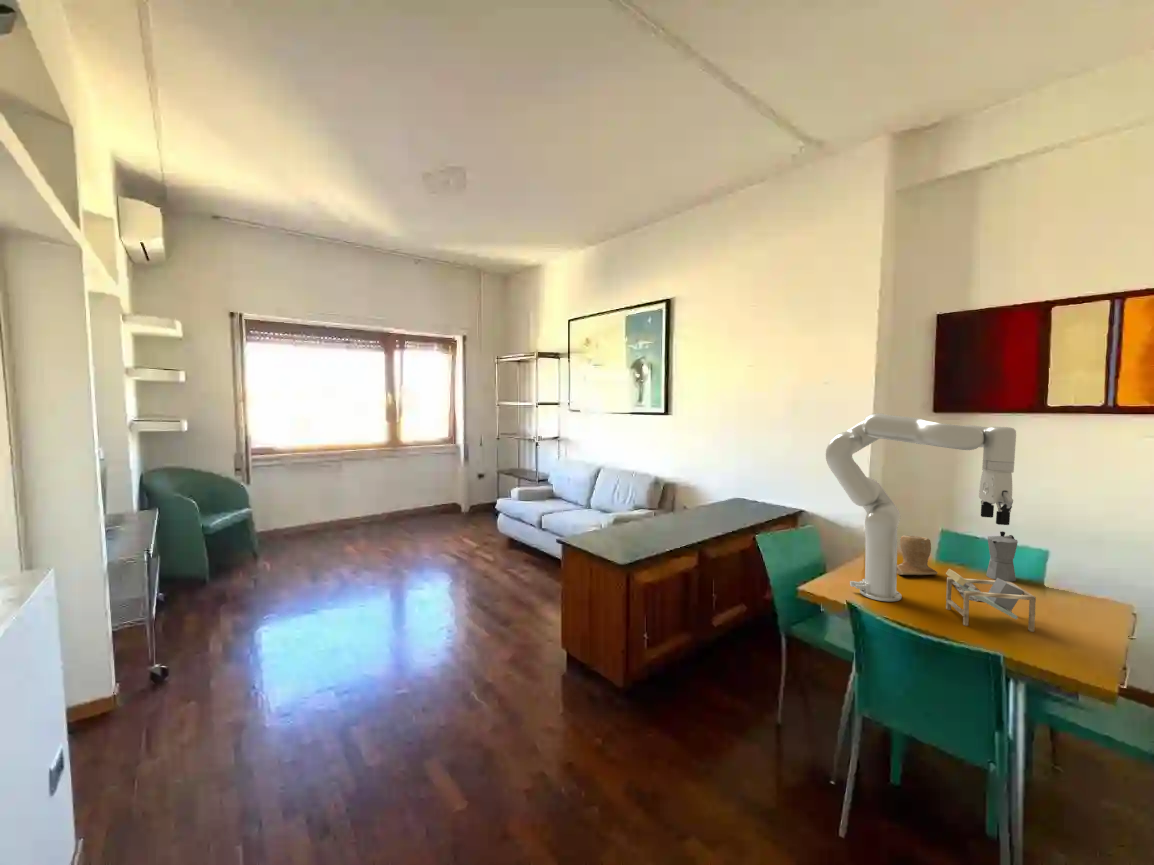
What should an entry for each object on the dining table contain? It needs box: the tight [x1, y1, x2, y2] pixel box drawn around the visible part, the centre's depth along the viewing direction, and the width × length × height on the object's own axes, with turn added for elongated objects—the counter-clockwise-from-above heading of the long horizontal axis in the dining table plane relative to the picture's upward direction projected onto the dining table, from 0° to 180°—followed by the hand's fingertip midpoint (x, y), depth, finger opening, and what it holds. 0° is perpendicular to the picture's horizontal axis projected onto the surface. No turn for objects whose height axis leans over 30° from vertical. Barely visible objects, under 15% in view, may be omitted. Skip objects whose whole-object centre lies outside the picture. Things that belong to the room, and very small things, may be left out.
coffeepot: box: [986, 531, 1019, 583], centre depth 192 cm, size 15×9×18 cm, turn 118°
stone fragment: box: [952, 582, 984, 603], centre depth 182 cm, size 25×3×10 cm
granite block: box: [987, 578, 1024, 612], centre depth 155 cm, size 5×5×7 cm
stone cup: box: [897, 535, 939, 576], centre depth 198 cm, size 15×12×15 cm
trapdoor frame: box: [945, 576, 1037, 633], centre depth 156 cm, size 18×13×10 cm
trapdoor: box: [945, 568, 1019, 620], centre depth 156 cm, size 18×10×3 cm, turn 74°
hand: (994, 520), depth 156 cm, fingers open, 9 cm apart
